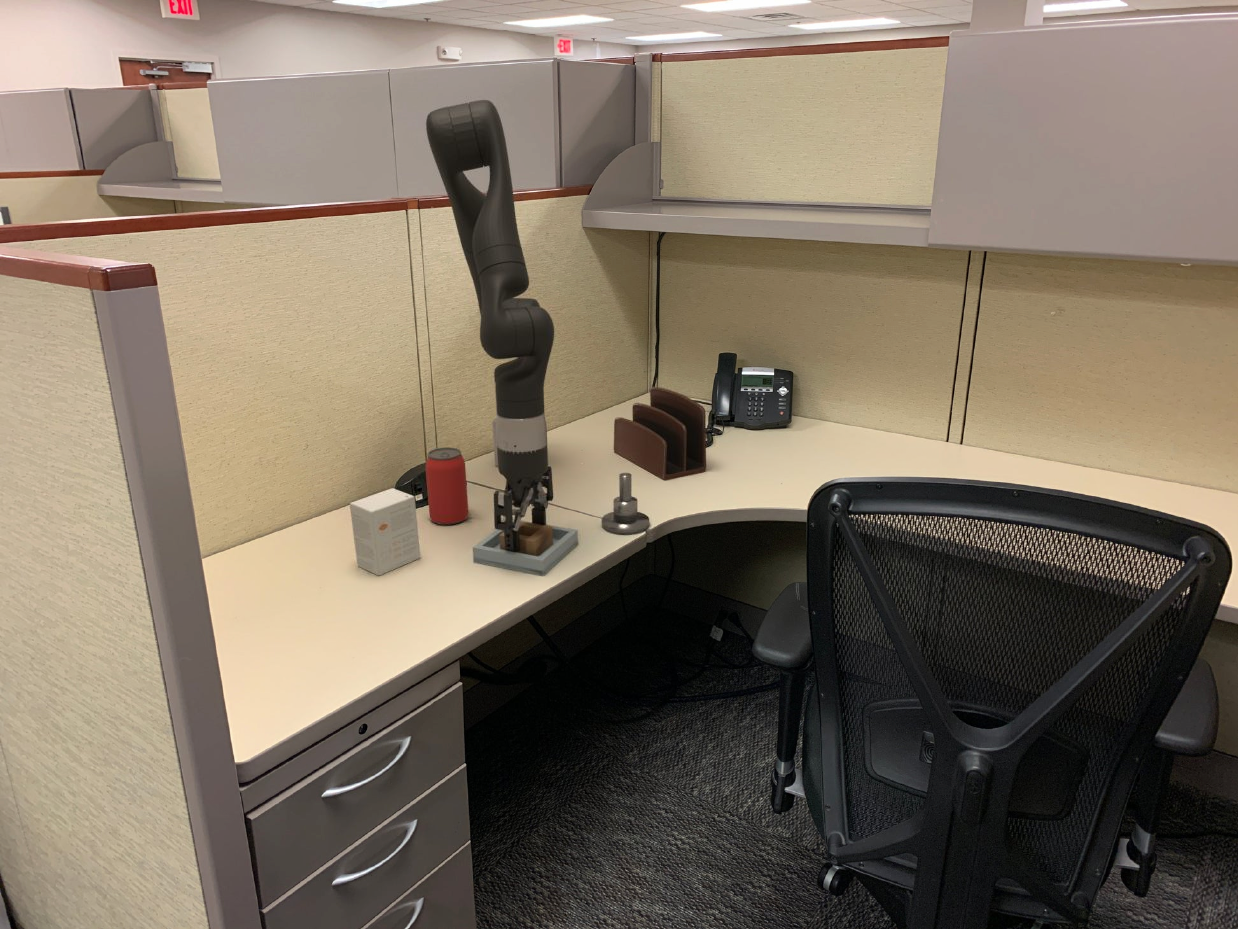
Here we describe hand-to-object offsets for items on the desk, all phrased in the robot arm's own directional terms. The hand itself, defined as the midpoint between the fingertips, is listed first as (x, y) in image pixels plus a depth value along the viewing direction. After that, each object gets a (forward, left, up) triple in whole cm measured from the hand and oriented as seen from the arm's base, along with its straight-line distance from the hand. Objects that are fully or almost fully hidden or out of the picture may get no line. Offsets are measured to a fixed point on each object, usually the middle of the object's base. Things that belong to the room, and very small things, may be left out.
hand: (526, 540), depth 135 cm
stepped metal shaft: (+10, +16, -2) cm, 19 cm away
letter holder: (+4, +48, -3) cm, 48 cm away
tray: (0, 0, -2) cm, 2 cm away
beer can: (-19, +7, -2) cm, 20 cm away
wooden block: (0, 0, -1) cm, 1 cm away
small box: (-18, -11, -2) cm, 21 cm away
